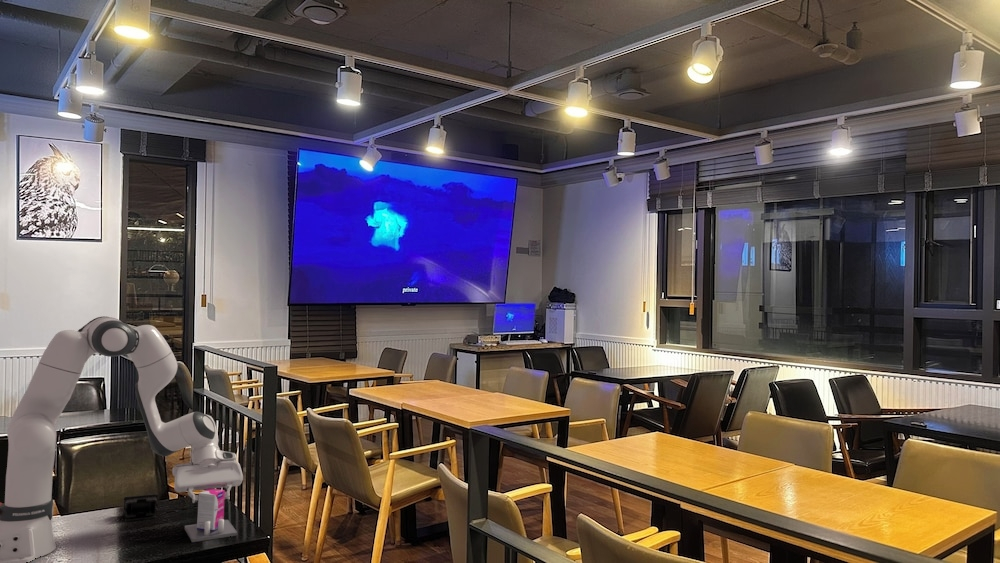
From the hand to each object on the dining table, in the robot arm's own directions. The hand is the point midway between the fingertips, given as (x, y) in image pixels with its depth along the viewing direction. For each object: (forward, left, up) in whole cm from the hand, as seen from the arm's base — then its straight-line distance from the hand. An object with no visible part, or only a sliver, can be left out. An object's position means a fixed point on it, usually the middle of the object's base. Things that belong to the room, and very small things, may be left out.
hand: (211, 499), depth 221 cm
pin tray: (0, 0, -10) cm, 10 cm away
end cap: (-17, +25, -10) cm, 32 cm away
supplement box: (0, 0, -9) cm, 9 cm away
